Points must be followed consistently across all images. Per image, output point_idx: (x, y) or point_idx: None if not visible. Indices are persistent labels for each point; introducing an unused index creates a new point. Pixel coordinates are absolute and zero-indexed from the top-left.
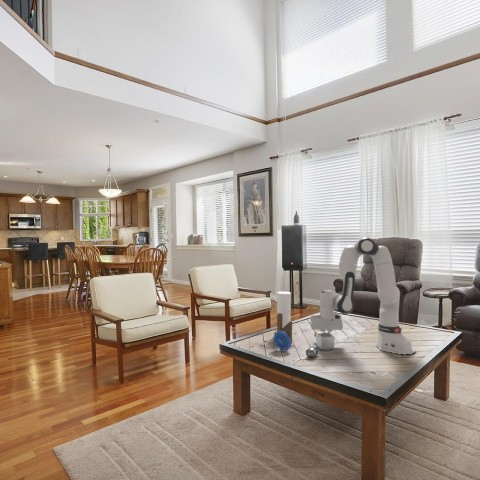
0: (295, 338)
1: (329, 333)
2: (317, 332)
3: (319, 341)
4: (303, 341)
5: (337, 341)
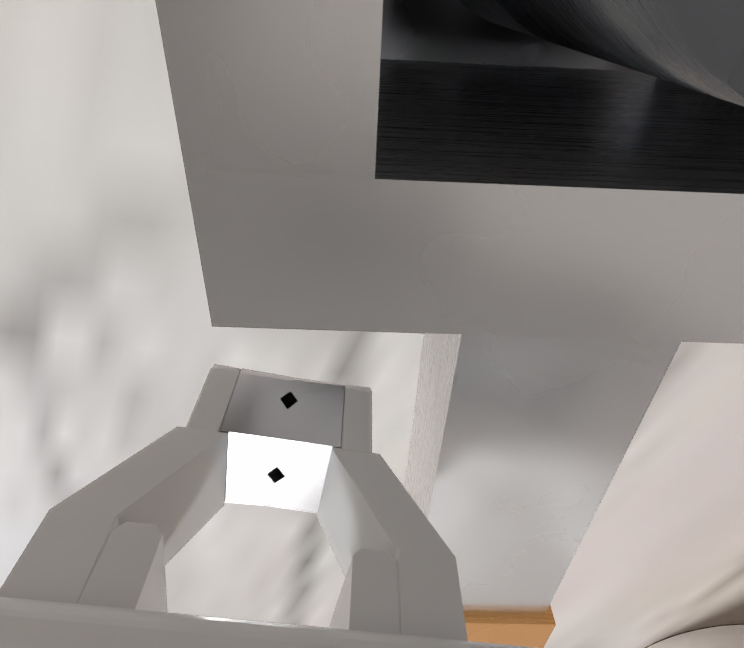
0: (692, 560)
1: (222, 200)
2: (518, 584)
3: None
4: (684, 451)
5: (25, 374)
